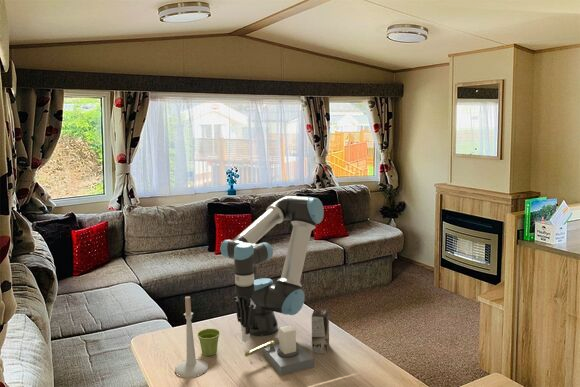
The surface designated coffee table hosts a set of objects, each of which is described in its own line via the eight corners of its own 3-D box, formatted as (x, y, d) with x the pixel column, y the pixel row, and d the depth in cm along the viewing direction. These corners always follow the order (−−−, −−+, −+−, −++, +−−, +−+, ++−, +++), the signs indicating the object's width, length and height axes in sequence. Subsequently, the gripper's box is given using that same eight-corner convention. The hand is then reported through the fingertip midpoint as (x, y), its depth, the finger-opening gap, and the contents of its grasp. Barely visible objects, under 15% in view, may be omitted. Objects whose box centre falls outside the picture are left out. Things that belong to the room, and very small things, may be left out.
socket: (263, 356, 200) (263, 344, 200) (294, 348, 206) (294, 337, 205) (281, 376, 184) (280, 363, 183) (314, 368, 190) (313, 355, 189)
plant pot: (224, 349, 207) (223, 329, 206) (214, 359, 198) (213, 339, 197) (205, 346, 210) (204, 327, 209) (194, 356, 201) (192, 336, 200)
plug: (274, 358, 197) (273, 326, 195) (293, 353, 201) (292, 322, 199) (282, 367, 190) (281, 335, 188) (302, 363, 193) (301, 330, 191)
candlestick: (188, 358, 200) (184, 288, 195) (214, 364, 194) (211, 292, 190) (167, 373, 188) (163, 299, 184) (195, 380, 183) (191, 304, 178)
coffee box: (327, 354, 201) (326, 317, 198) (311, 353, 202) (310, 316, 200) (329, 344, 210) (329, 308, 207) (314, 343, 211) (314, 307, 208)
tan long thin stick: (272, 342, 201) (272, 339, 200) (275, 344, 199) (275, 340, 199) (243, 355, 190) (243, 352, 190) (247, 357, 189) (247, 354, 188)
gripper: (227, 281, 194) (228, 338, 197) (246, 289, 184) (248, 349, 187) (242, 277, 199) (243, 332, 202) (262, 285, 189) (263, 343, 192)
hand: (246, 340), depth 195 cm, fingers closed
